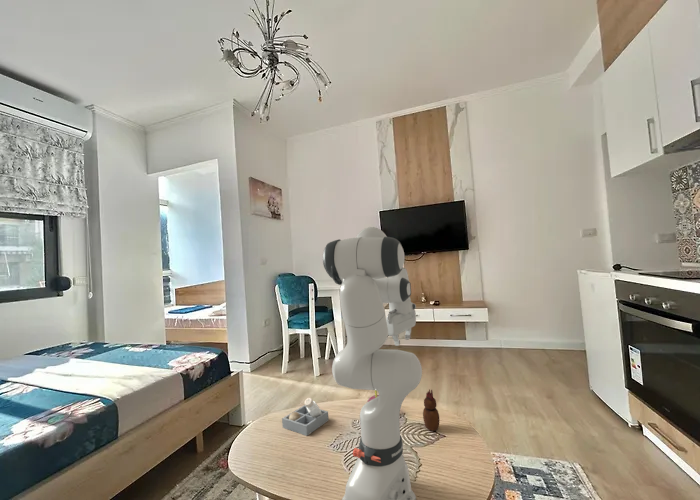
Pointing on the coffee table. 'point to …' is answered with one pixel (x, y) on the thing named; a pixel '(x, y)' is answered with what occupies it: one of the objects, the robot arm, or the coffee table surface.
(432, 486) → the coffee table surface
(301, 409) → the grey compartment tray
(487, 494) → the coffee table surface
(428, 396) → the wooden figurine
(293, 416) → the brown ball
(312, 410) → the pepper shaker
